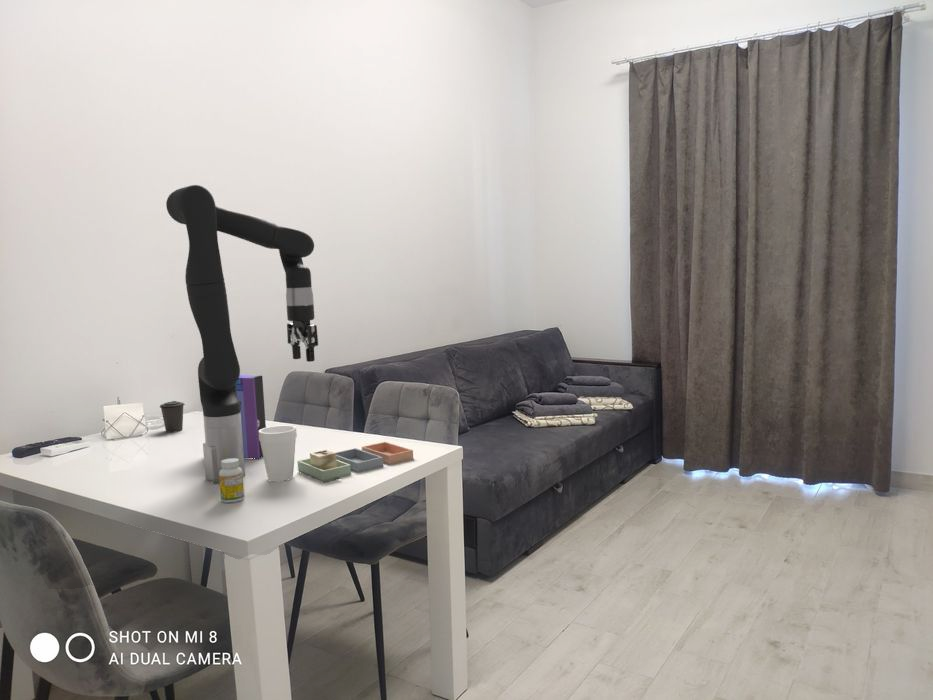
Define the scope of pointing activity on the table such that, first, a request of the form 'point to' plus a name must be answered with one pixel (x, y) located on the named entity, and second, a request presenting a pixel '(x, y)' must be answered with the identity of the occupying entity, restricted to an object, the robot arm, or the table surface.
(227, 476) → the supplement bottle
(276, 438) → the foam cup
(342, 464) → the sage tray
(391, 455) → the terracotta tray
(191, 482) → the table surface
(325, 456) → the letter cube
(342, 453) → the slate tray
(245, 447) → the cereal box
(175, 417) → the coffee cup
